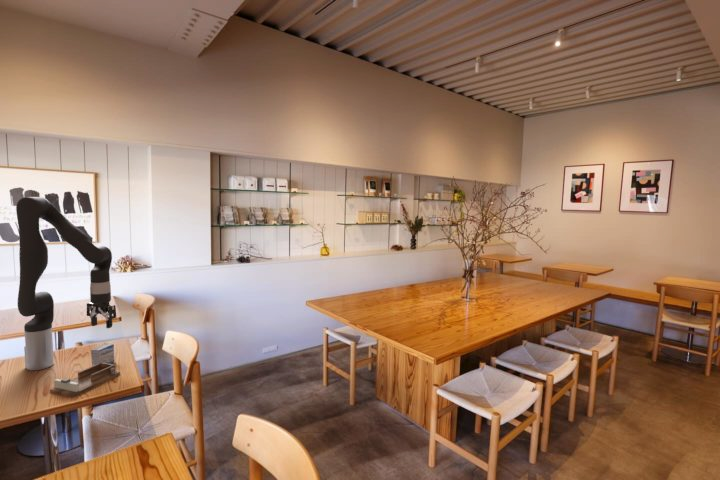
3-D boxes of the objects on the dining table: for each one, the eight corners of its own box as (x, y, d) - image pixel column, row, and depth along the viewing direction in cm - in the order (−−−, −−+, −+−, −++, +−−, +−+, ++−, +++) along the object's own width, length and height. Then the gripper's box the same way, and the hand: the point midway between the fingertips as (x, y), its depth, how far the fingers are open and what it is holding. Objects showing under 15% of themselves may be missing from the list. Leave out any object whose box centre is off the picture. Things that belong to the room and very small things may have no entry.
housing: (50, 392, 145) (49, 381, 145) (98, 370, 164) (97, 361, 164) (73, 397, 142) (73, 386, 142) (119, 374, 161) (119, 365, 161)
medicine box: (99, 369, 166) (99, 350, 165) (91, 368, 167) (90, 349, 166) (114, 362, 173) (114, 344, 173) (106, 360, 174) (106, 343, 173)
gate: (53, 388, 146) (52, 378, 145) (57, 386, 147) (57, 376, 147) (74, 392, 143) (74, 382, 142) (79, 390, 145) (78, 380, 144)
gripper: (80, 291, 165) (81, 327, 166) (105, 294, 161) (106, 331, 163) (96, 288, 172) (97, 322, 174) (120, 291, 168) (121, 326, 170)
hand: (101, 326), depth 168 cm, fingers open, 8 cm apart
